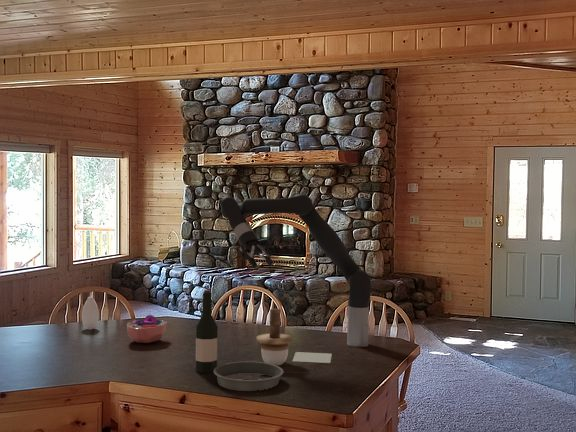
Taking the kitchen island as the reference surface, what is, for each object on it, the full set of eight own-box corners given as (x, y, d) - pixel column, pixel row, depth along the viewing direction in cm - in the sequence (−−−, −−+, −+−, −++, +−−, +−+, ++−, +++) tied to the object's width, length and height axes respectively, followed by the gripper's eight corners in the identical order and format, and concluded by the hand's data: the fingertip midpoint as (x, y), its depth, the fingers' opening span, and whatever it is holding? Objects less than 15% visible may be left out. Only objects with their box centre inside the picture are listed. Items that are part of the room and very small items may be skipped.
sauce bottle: (96, 331, 312) (96, 292, 311) (79, 330, 312) (79, 292, 311) (100, 327, 320) (101, 290, 319) (84, 327, 320) (84, 290, 319)
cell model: (116, 344, 286) (116, 318, 286) (143, 335, 305) (143, 311, 304) (149, 349, 280) (150, 322, 280) (175, 339, 298) (175, 314, 298)
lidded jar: (290, 362, 263) (291, 338, 263) (284, 369, 253) (285, 344, 252) (264, 359, 266) (265, 336, 265) (257, 366, 255) (257, 342, 255)
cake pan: (257, 397, 218) (257, 384, 218) (198, 385, 231) (199, 372, 231) (296, 380, 239) (296, 367, 239) (240, 369, 252) (240, 357, 252)
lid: (294, 337, 265) (294, 307, 265) (290, 345, 251) (291, 313, 251) (259, 335, 267) (260, 305, 266) (253, 343, 253) (254, 312, 252)
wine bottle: (213, 374, 244) (214, 292, 243) (191, 372, 246) (192, 291, 244) (220, 368, 252) (221, 289, 251) (199, 366, 254) (200, 288, 253)
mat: (331, 354, 276) (331, 353, 276) (330, 363, 261) (330, 362, 261) (295, 352, 278) (295, 352, 278) (292, 362, 263) (292, 361, 263)
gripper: (236, 230, 273) (254, 260, 266) (262, 229, 283) (280, 258, 275) (228, 242, 277) (245, 272, 270) (254, 241, 287) (271, 270, 279)
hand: (263, 265), depth 273 cm, fingers open, 8 cm apart
